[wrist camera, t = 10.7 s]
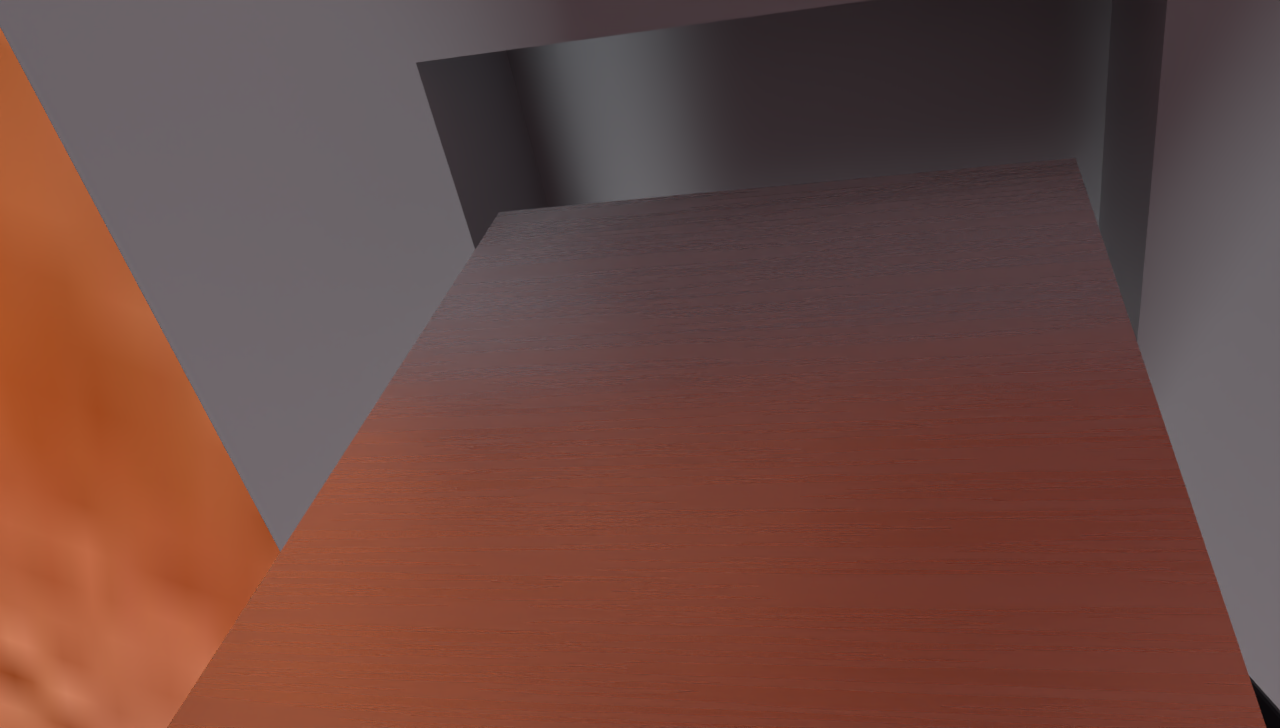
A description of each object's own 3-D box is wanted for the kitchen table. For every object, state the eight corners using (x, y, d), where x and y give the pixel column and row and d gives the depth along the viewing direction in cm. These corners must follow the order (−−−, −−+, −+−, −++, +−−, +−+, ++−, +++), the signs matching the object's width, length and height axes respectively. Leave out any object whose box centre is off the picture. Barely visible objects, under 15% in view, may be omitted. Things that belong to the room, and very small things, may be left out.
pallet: (148, -152, 11) (-60, -84, 8) (1667, -476, 7) (2034, -511, 5) (596, 928, 23) (563, 1081, 21) (1254, 994, 20) (1305, 1186, 17)
